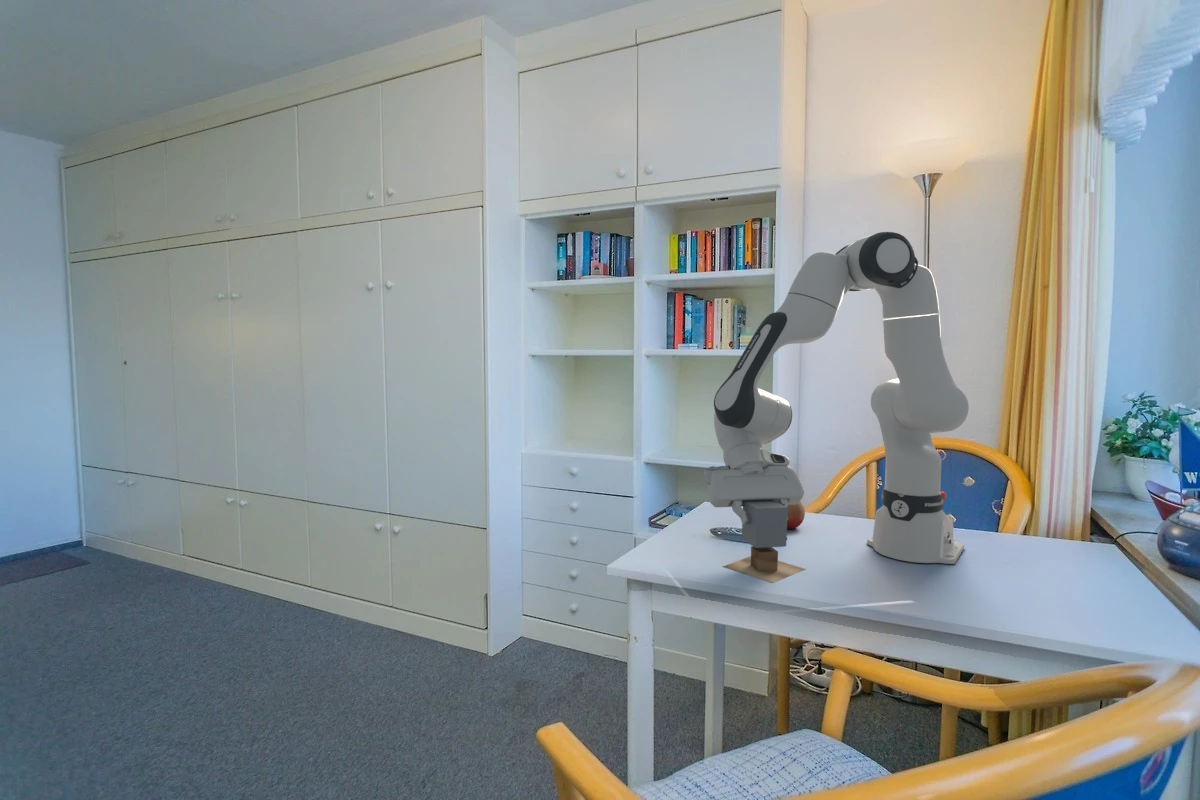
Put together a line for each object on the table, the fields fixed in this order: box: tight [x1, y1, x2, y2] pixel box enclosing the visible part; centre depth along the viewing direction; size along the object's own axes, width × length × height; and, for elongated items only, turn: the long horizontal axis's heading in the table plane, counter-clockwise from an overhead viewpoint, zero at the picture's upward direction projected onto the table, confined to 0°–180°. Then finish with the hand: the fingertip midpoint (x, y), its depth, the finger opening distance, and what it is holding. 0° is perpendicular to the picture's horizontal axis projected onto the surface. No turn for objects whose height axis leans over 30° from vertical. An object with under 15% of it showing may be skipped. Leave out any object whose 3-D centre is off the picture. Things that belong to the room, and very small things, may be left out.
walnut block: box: [750, 545, 779, 572], centre depth 128 cm, size 4×4×4 cm
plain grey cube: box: [741, 500, 788, 548], centre depth 128 cm, size 7×7×8 cm
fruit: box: [787, 501, 806, 530], centre depth 159 cm, size 8×8×8 cm
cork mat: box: [722, 555, 806, 584], centre depth 129 cm, size 12×12×1 cm
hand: (765, 522), depth 127 cm, fingers closed on plain grey cube, 7 cm apart
